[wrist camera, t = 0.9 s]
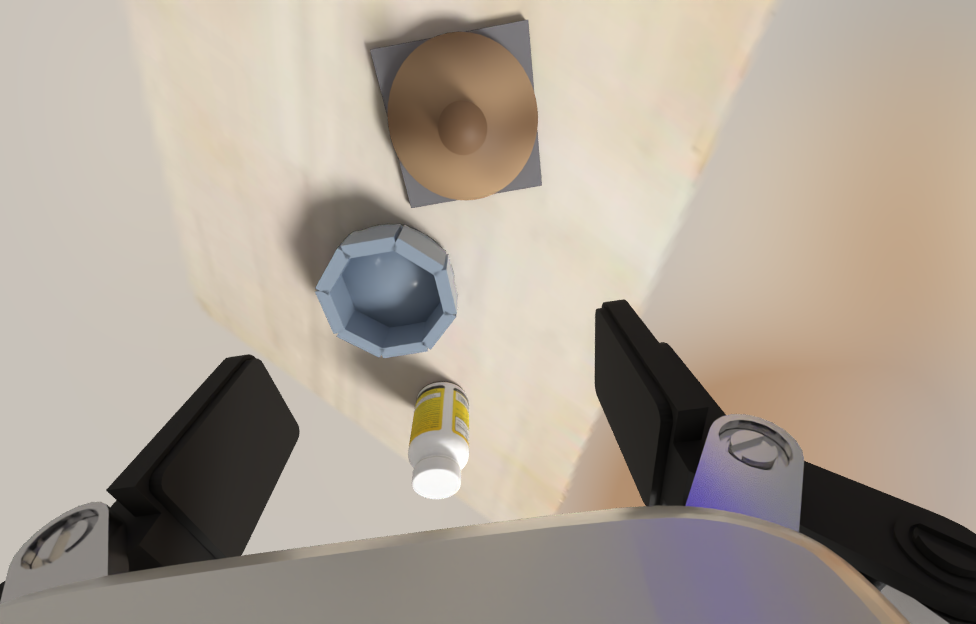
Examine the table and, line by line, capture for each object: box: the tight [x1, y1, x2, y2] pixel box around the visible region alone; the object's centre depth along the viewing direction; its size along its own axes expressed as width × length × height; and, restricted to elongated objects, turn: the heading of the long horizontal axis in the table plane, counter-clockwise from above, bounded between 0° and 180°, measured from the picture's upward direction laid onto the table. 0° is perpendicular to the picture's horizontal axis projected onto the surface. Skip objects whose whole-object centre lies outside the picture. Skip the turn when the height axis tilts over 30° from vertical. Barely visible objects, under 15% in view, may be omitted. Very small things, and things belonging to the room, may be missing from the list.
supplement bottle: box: [408, 382, 469, 499], centre depth 35 cm, size 5×5×10 cm
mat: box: [370, 20, 542, 208], centre depth 26 cm, size 10×10×1 cm
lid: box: [388, 32, 538, 200], centre depth 23 cm, size 10×10×5 cm
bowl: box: [315, 224, 458, 358], centre depth 30 cm, size 10×10×4 cm
